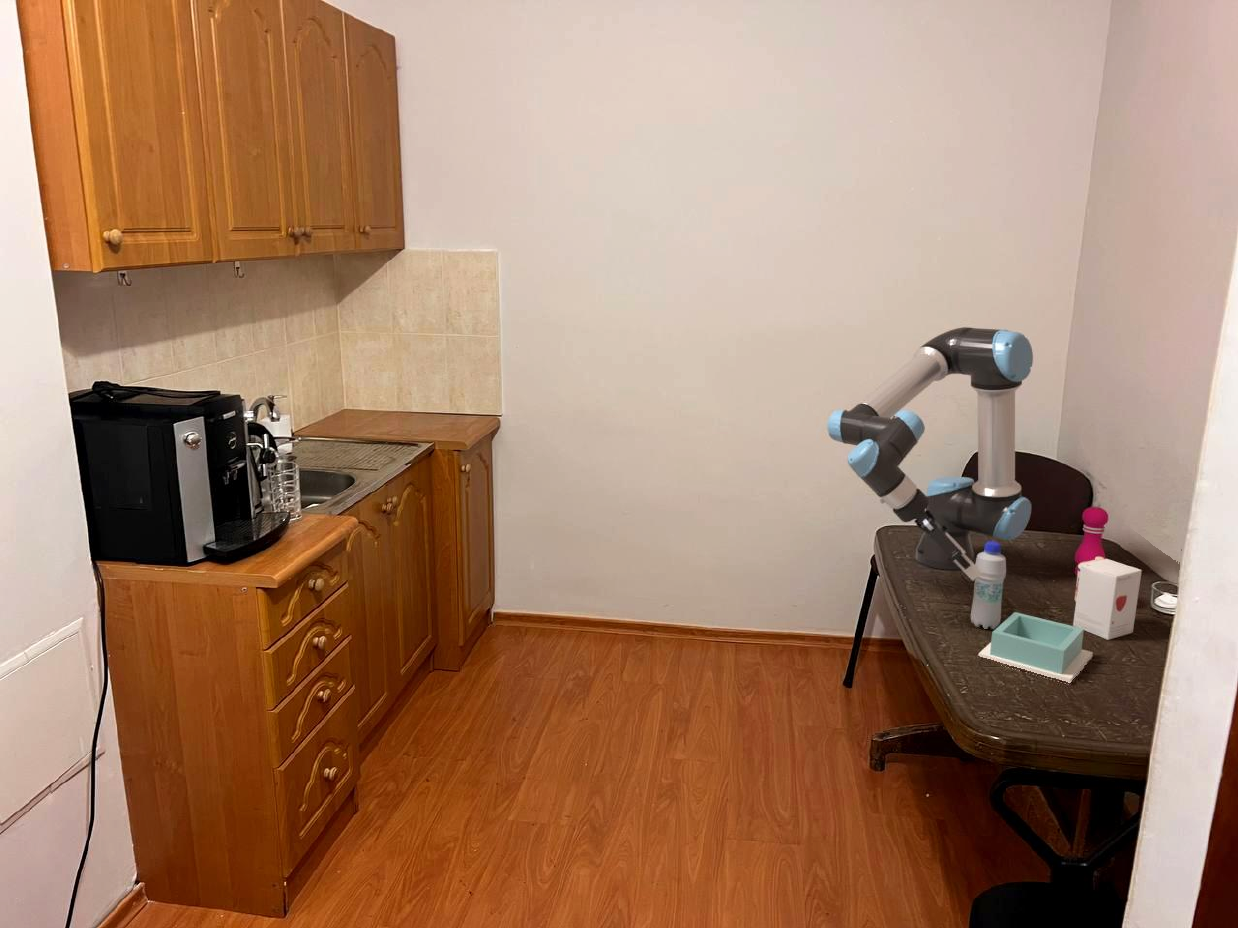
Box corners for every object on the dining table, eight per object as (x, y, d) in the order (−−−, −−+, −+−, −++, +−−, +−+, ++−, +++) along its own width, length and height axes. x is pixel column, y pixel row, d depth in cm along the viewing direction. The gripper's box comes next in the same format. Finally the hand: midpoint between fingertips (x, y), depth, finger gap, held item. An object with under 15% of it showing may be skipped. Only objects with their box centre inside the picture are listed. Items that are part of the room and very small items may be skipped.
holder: (978, 658, 193) (980, 631, 192) (1004, 634, 205) (1006, 608, 204) (1069, 684, 182) (1073, 655, 181) (1092, 657, 194) (1095, 629, 192)
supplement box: (1108, 641, 202) (1116, 576, 198) (1071, 626, 210) (1079, 563, 206) (1134, 632, 206) (1143, 569, 202) (1098, 618, 214) (1105, 557, 210)
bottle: (999, 622, 212) (1008, 539, 207) (1001, 633, 206) (1010, 548, 201) (968, 618, 214) (976, 536, 209) (969, 629, 208) (977, 545, 203)
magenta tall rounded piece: (1097, 570, 244) (1106, 498, 240) (1108, 580, 237) (1117, 505, 233) (1068, 570, 245) (1077, 497, 240) (1078, 579, 238) (1087, 505, 233)
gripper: (881, 495, 217) (942, 557, 219) (902, 526, 193) (970, 597, 195) (906, 473, 215) (967, 537, 217) (930, 503, 191) (998, 574, 193)
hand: (968, 565), depth 206 cm, fingers open, 13 cm apart
